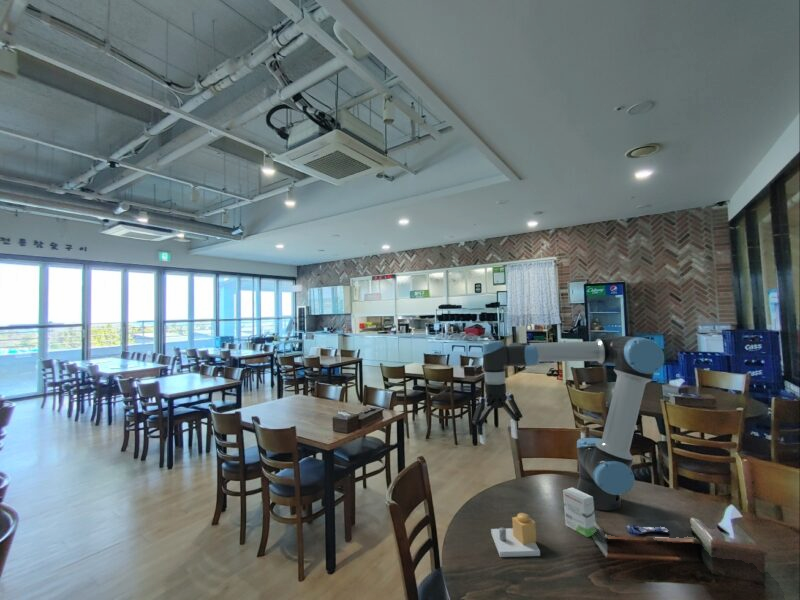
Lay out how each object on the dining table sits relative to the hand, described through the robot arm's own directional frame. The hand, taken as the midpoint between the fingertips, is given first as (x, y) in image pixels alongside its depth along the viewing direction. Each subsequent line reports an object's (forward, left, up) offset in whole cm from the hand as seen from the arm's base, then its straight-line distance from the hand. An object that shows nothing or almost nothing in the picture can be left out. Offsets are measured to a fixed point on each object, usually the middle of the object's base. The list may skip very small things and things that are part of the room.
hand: (499, 440), depth 132 cm
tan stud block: (-2, +17, -25) cm, 30 cm away
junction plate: (+1, +17, -27) cm, 32 cm away
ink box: (-23, +10, -27) cm, 37 cm away
